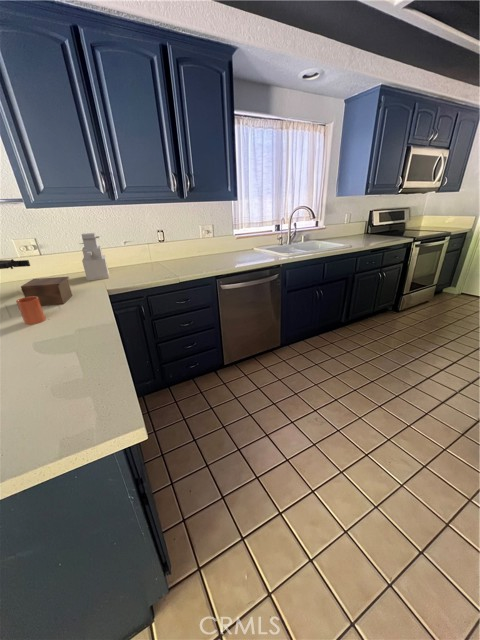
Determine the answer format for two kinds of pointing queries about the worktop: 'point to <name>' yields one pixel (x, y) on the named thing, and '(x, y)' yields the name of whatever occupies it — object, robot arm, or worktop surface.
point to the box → (50, 293)
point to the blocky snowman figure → (93, 258)
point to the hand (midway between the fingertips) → (28, 263)
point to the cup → (31, 310)
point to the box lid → (45, 282)
